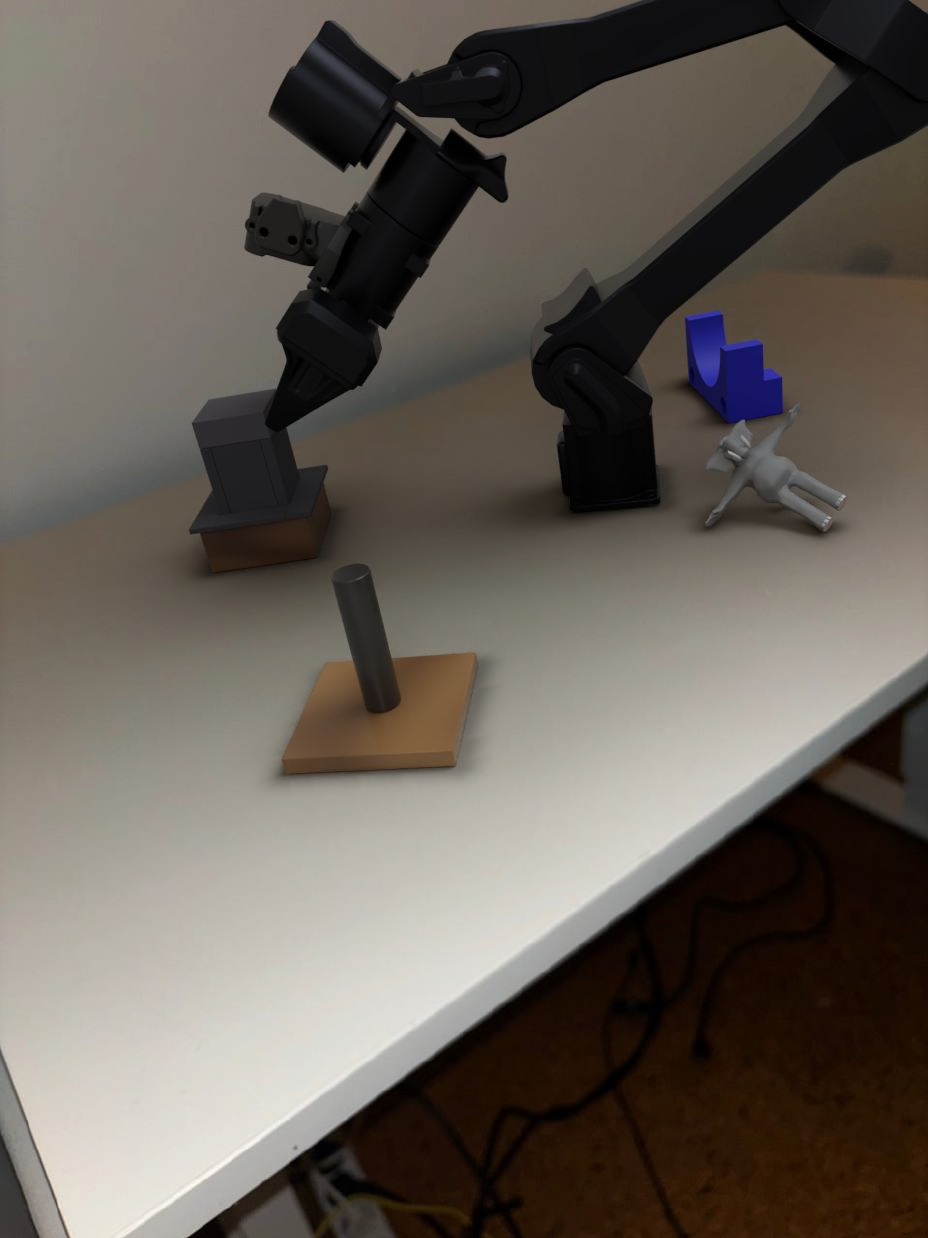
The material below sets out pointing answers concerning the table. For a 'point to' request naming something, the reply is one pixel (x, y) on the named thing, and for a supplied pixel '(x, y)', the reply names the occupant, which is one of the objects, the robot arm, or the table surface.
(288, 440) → the hat
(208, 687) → the table surface
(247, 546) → the hat block
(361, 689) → the hat stand
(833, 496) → the elephant figurine
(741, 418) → the blue cradle bracket
